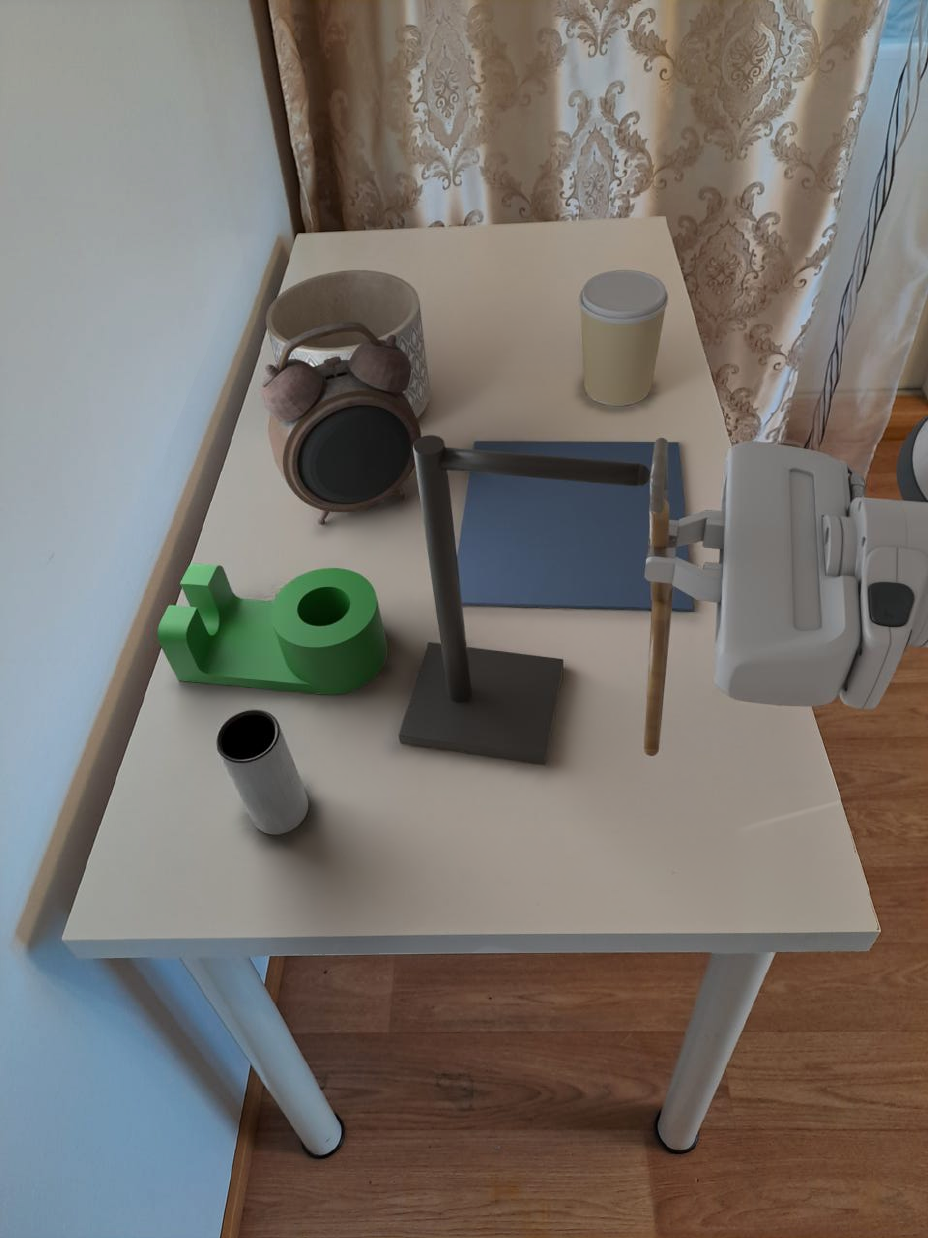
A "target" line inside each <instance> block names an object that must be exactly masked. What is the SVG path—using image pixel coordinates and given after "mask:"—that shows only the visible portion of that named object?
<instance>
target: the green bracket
mask: <svg viewBox="0 0 928 1238" xmlns="http://www.w3.org/2000/svg"><path fill="white" fill-rule="evenodd" d="M227 576H228V575H227V573H226V571H225V569H224V567H223V566H222V565H220V564H205V563H190V564H189V565H188V567H187V569H186V571H185V573H184V575H183V576H182V578H181V581H180V583H179V585H180V586H181V589H182V591H183V593H184V595H185V598H186V601H187V602H188V605H189V606H185V605H174V604H173V605H172V604H168V605H167V608H166V610H165V612H164V614H163V616H162V618H161V620H160V622H159V624H158V627H157V641H158V643H159V645H160V647H161V650H162V652H163V654H164V656H165V657H166V659H167V661H168V663H169V665H170V668H171V669H172V671H173V674H174V676H175V677H176V679H177V681H181V682H191V683H200V684H201V683H202V684H209V685H210V684H212V685H222V686H231V687H232V686H233V687H242V688H251V689H252V688H253V689H263V690H272V691H273V690H274V691H284V692H295V693H305V694H315V695H324V696H334V695H342V694H346V693H350V692H353V691H356V690H357V689H360V688H361V687H363V686H365V685H366V684H368V683H369V682H371V681H372V680H374V678H375V677H376V676H377V675H378V674H379V673H380V672H381V670H382V669H383V667H384V665H385V662H386V659H387V656H388V644H387V639H386V634H385V629H384V625H383V620H382V615H381V611H380V610H381V609H380V607H379V602H378V597H377V592H376V589H375V588H374V586H373V584H372V583H371V582H370V581H369V579H367V578H366V577H365V576H363V575H362V574H360V573H359V572H356V571H353V570H350V569H346V568H340V567H325V568H318V569H314V570H310V571H308V572H305V573H303V574H300V575H298V576H296V577H294V578H293V579H291V580H290V581H289V582H288V583H286V584H285V585H284V586H283V587H282V588H281V589H280V590H279V591H278V593H277V594H276V596H275V597H274V599H273V600H259V599H246V598H241V597H239V596H238V595H236V594H235V593H234V591H233V589H232V586H231V584H230V581H229V578H228V577H227Z"/></svg>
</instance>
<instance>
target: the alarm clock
mask: <svg viewBox="0 0 928 1238" xmlns="http://www.w3.org/2000/svg"><path fill="white" fill-rule="evenodd" d="M341 332H361V333H363V334H364V335H365V336H366V337H367V338H368V339H369V340H368V341H365V342H363V343H362V344H361V345H359V346H358V347H357V349H356V350H355V351H354V353H353V354H352V356H351V358H350V360H341V358H340V357H333V358H329V359H326V360H324V363H323V364H320V365H317V366H315V367H313V366H311V365H310V364H308V363H306V362H304V361H301V360H298V359H289V357H290V354H291V353H292V351H293V350H294V349H296V348H297V347H299V346H301V345H303V344H305V343H306V342H308V341H311V340H314V339H317V338H320V337H324V336H328V335H331V334H335V333H341ZM265 372H266V374H265V376H264V378H263V380H262V381H261V382H260V383H261V388H260V397H261V401H262V402H263V404H264V407H265V409H266V410H267V412H268V413H269V414H270V415H269V420H268V439H269V444H270V446H271V451H272V456H273V458H274V462H275V464H276V467H277V468H278V471H279V472H280V474H281V476H282V477H283V479H284V480H285V482H286V484H287V485H288V487H289V488H290V490H291V491H292V492H293V494H294V495H295V496H296V497H297V498H298V499H300V501H301V502H303V503H305V504H307V505H309V506H310V507H313V508H315V509H317V510H321V514H320V518H319V519H318V520H317V522H318V524H319V525H325V524H326V518H327V517H328V515H329V514H330V513H352V512H357V511H361V510H365V509H367V508H371V507H373V506H375V505H378V504H379V503H381V502H383V501H385V500H387V499H388V498H389V497H391V496H392V495H394V496H396V497H398V498H399V499H398V500H400V501H402V502H403V501H405V500H406V499H407V496H406V494H404V493H402V492H401V491H400V488H401V487H402V486H403V485H404V484H405V483H406V482H407V480H409V478H410V477H411V475H412V473H413V472H414V470H415V469H416V465H415V458H414V451H413V444H414V442H415V441H416V440H417V439H418V438H420V437H422V431H421V427H420V424H419V421H418V418H417V419H416V416H415V414H414V411H413V409H412V407H411V405H410V403H409V401H408V399H407V398H406V396H405V395H404V393H403V391H406V389H407V387H408V384H409V381H410V376H411V365H410V361H409V359H408V357H407V355H406V354H405V353H404V352H403V350H402V349H400V348H399V347H398V346H397V345H396V336H395V335H390V336H389V337H388V338H387V340H386V341H385V340H380V339H377V338H376V337H375V336H374V334H373V333H372V332H371V331H370V330H368V329H367V328H366V327H365V326H364V325H363V324H360V323H358V322H341V323H336V324H330V325H327V326H323V327H319V328H315V329H312V330H309V331H307V332H304V333H302V334H300V335H298V336H296V337H295V338H293V339H291V340H289V341H288V342H287V343H286V344H285V346H284V347H283V350H282V353H281V355H280V358H279V361H278V364H276V363H275V365H274V364H266V366H265Z"/></svg>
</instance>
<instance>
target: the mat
mask: <svg viewBox="0 0 928 1238" xmlns="http://www.w3.org/2000/svg"><path fill="white" fill-rule="evenodd" d="M667 442H668V494H667V502H668V504H669V520H678V521H679V519H682V518H684V517H686V511H685V509H686V508H685V496H684V486H683V476H682V463H681V452H680V442H679V441H667ZM654 444H655V441H574V440H573V441H555V440H551V441H550V440H549V441H548V440H546V441H545V440H544V441H543V440H542V441H541V440H540V441H539V440H537V441H536V440H474V441H473V447H472V450H484V451H497V452H509V453H521V454H533V455H545V456H557V457H569V458H581V459H593V460H605V461H617V462H629V463H640V464H644V465H646V466H647V467H648V468H649V470H650V475H651V467H652V459H653V451H654ZM465 494H466V495H465V501H464V508H463V514H462V520H461V526H460V535H459V539H458V540H459V541H458V546H457V561H458V570H459V580H460V589H461V598H462V606H475V607H476V606H477V607H478V606H480V607H509V608H511V607H512V608H516V607H517V608H545V609H546V608H547V609H550V608H553V609H582V610H583V609H586V610H587V609H588V610H589V609H590V610H593V609H594V610H619V611H620V610H622V611H623V610H626V611H627V610H628V611H652V600H651V581H648V580H646V579H645V577H644V575H645V566H646V558H647V551H648V541H649V531H650V513H649V507H650V479H649V481H648V483H647V484H645V485H644V486H641V487H634V486H623V485H611V484H600V483H589V482H577V481H566V480H554V479H543V478H532V477H520V476H509V475H497V474H486V473H475V472H468V480H467V487H466V493H465ZM676 557H678V558H680V559H682V560H685V561H687V562H689V563H690V554H689V544H687V545H683V546H679V547H676ZM676 557H675V559H676ZM693 601H694V600H693V597H692V596H690V595H688V594H686V593H685V592H683V591H681V590H680V589H678V588H676V587H675V586H674V589H673V600H672V611H671V612H694V602H693Z"/></svg>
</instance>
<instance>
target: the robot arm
mask: <svg viewBox="0 0 928 1238" xmlns="http://www.w3.org/2000/svg"><path fill="white" fill-rule="evenodd" d="M896 481H897V483H896V484H897V486H898V487H897V488H898V490H899V493H900V496H901V499H902V500H901V499H889V498H877V497H875V498H874V497H866V488H867V485H866V484H867V483H866V479H865V477H864V475H863V474H862V473H860V472H857V471H856V470H855V469H854V468H853V467H851V466H850V465H848V463H847V461H845V460H843V459H839V458H834V457H833V456H832V455H829V454H827V453H824V452H821V451H817V450H813V449H808V448H803V447H798V446H792V445H786V444H779V443H773V442H766V441H756V440H744V441H741V442H739V443H736V444H733V445H731V446H730V447H729V448H728V450H727V453H726V458H725V463H724V470H723V476H722V485H721V486H722V487H721V506H720V507H721V508H720V510H711V509H706V510H702V511H700V512H697V513H693V514H691V515H687V516H685V517H684V518H682V519H679V521H678V520H669V547H664V548H660V547H657V546H652V547H650V531H649V541H648V551H647V558H646V566H645V575H644V577H645V579H646V580H648V581H652V582H662V583H671V584H672V585H673V586H675V587H676V588H678V589H680V590H681V591H683V592H685V593H686V594H688V595H690V596H692V599H695V600H696V601H699V602H708V603H716V619H715V642H714V660H713V661H714V663H713V685H714V687H716V688H717V689H718V690H719V691H721V692H722V694H725V695H726V696H727V697H729V698H730V699H732V700H735V701H738V702H739V701H740V702H745V703H750V704H751V703H753V704H759V705H768V706H769V705H771V706H779V707H799V708H802V707H804V708H806V707H807V708H810V707H820V706H824V705H828V704H830V703H832V702H834V701H835V700H836V699H837V698H838V696H839V699H840V701H841V702H842V704H844V705H845V706H847V707H850V708H853V709H858V710H873V709H875V708H876V707H877V706H878V705H879V703H880V702H881V700H882V698H883V697H884V695H885V693H886V691H887V689H888V687H889V685H890V684H891V682H892V680H893V677H894V675H895V673H896V671H897V669H898V666H899V664H900V661H901V659H902V657H903V655H904V653H905V651H906V649H907V647H910V648H911V647H912V648H921V649H925V648H927V649H928V414H927V415H926V416H924V417H923V418H922V419H921V420H919V422H917V423H916V425H915V426H913V427H912V429H911V430H910V431H909V432H908V434H907V436H906V437H905V439H904V440H903V442H902V445H901V447H900V450H899V452H898V456H897V462H896ZM700 542H702V545H701V546H702V548H704V549H712V550H713V549H714V550H718V551H719V553H718V554H719V555H718V562H710V561H705V562H704V563H703V566H702V567H700V566H698V565H696V564H693V563H692V562H690V561H689V562H687V561H685V560H682V559H680V558H678V557H676V547H679V546H683V545H687V544H688V545H692V544H695V543H700ZM675 557H676V559H675Z"/></svg>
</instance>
